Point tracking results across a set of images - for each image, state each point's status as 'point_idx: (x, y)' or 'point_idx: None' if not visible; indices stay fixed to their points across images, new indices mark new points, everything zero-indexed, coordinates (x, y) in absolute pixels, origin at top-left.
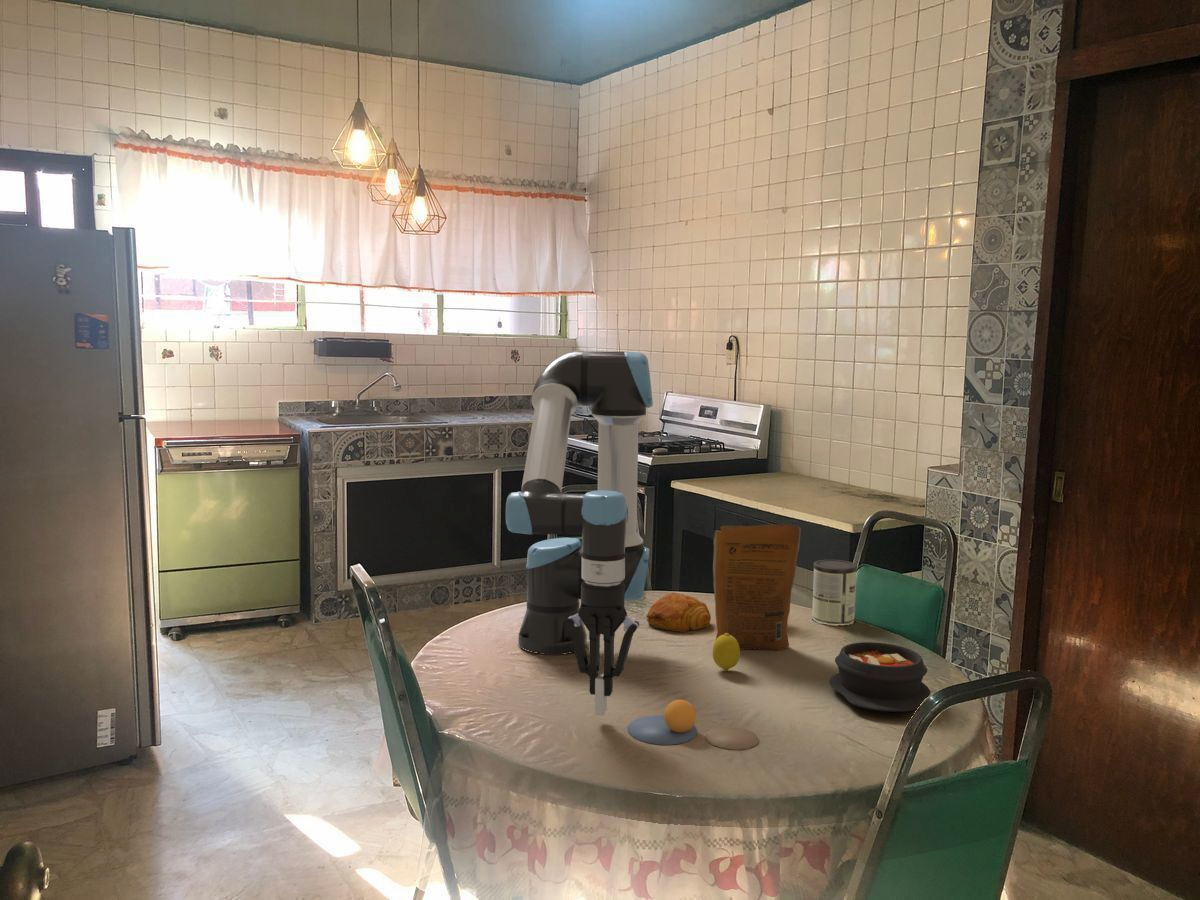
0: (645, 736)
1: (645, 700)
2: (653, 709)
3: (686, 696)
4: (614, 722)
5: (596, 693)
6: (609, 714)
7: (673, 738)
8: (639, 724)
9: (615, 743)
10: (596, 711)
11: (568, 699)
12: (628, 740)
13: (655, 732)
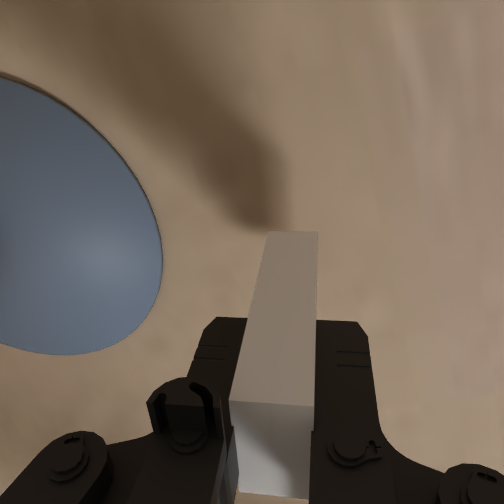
0: (31, 138)
1: None
2: (135, 398)
3: None
4: (235, 262)
5: (304, 311)
6: None
7: None
8: (117, 259)
9: (136, 5)
10: (306, 241)
11: (497, 428)
12: (91, 75)
13: (15, 196)
